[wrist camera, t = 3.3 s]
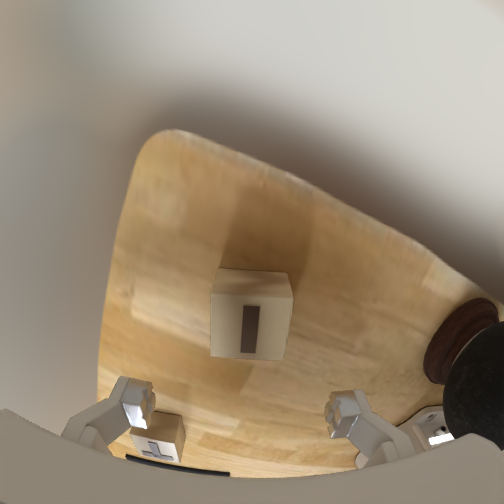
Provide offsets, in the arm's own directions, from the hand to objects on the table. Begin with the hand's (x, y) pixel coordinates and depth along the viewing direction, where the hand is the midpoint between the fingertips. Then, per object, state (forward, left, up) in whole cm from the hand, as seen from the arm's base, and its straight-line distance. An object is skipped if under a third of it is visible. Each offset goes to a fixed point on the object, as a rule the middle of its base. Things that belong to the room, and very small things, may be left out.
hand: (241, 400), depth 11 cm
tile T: (+9, +18, -10) cm, 23 cm away
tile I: (0, 0, -10) cm, 10 cm away
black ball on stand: (-24, +5, -10) cm, 27 cm away
